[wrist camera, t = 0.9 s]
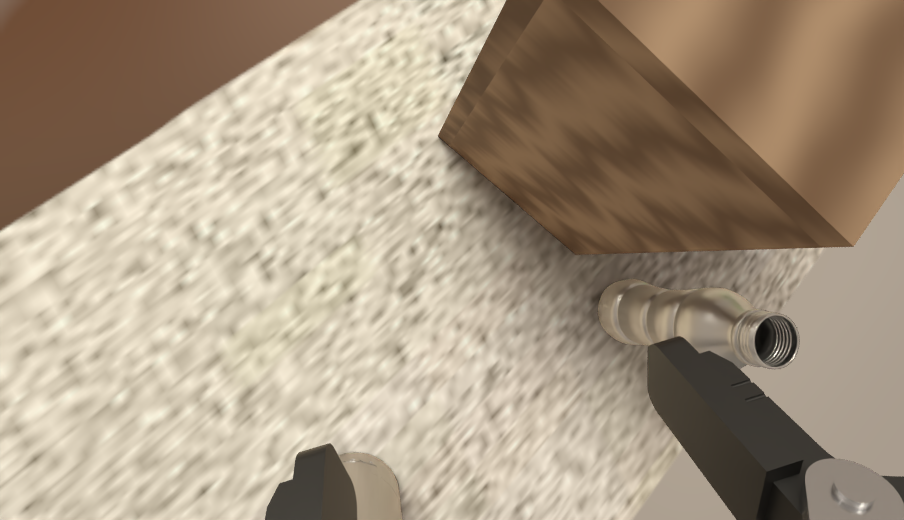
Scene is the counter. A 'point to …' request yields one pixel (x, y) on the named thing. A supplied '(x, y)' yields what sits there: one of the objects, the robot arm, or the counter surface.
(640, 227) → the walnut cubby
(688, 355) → the robot arm
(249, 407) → the counter surface
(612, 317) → the plastic bottle
